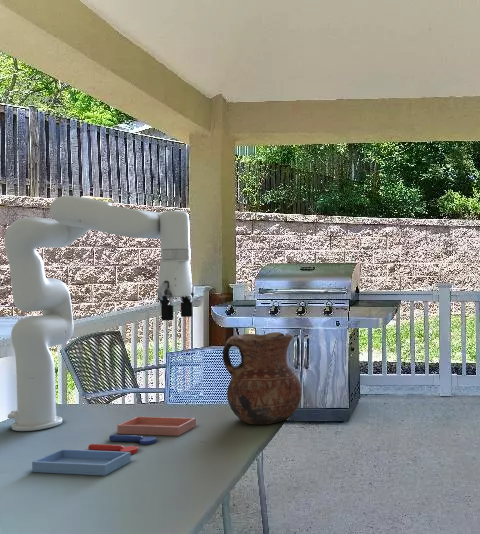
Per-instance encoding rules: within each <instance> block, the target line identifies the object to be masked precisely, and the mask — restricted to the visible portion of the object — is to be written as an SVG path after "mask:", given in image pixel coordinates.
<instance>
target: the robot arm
mask: <svg viewBox="0 0 480 534" xmlns="http://www.w3.org/2000/svg"><path fill="white" fill-rule="evenodd" d="M49 211H50V215H51V217H52V218H48V217H35V216H33V217H23V218H19V219H17V220H15V221H14V222H12V223H11V224H10V225H9V226H8V228H7V229H6V232H5V235H4V239H3V240H4V250H5V254H6V257H7V261H8V265H9V275H10V283H11V292H12V293H11V294H12V300H13V304H14V307H16V309H17V310H18V311H21V312H26V313H29V312H31V313H32V312H40V311H41V313H42V314H40V315H33V316H27V317H24V318H20V320H18V321H17V322H15V324H14V325H13V327H12V329H11V332H10V338H11V342H12V343H11V344H12V347H13V350H14V356H15V365H16V366H15V368H16V369H15V371H16V396H17V397H16V398H17V399H16V402H17V409H16V410H14V409H13V410H11V411H10V413H8V414H7V419H14V422H13V423H12V424H11V430H13V431H17V432H33V431H40V430H45V429H49V428H54V427H56V426H59V425H61V424H62V423H63V417H61V416H58V415H57V397H56V392H57V391H56V364H55V359H54V355H53V353H52V352H51V350H50V347H55V346H60V345H63V344H66V343H67V342H69V341H70V340H71V338H72V337H73V335H74V330H75V329H74V328H75V326H74V325H75V324H74V315H73V307H72V299H71V293H70V290H69V288H68V286H67V284H66V283H65V282H63V280H61V279H58V278H54V277H46V272H45V264H44V260H43V259H42V257H41V255H40V254H39V252H38V251H37V248H56V249H57V248H58V249H60V248H65V247H68V246H70V245H71V244H73V243H74V242H75V241H77V240H79V238H81V237H82V236H84V235H85V234H86V233H88V232H89V231H97V232H101V233H107V234H109V235H110V234H111V235H115V236H122V237H125V238H133V239H148V240H149V239H151V240H159V239H160V262H159V263H160V264H159V270H158V288H157V289H156V294H157V297H158V298H157V299H158V301H159V306H160V309H161V310H160V311H161V312H160V313H161V318H160V319H161V321H173V320H174V319H175V318H174V305H173V302H174V299H175V298H180V300H181V302H180V317H182V318H191V317H193V302H194V296H195V295H194V293H195V289H196V287H195V285H193V278H192V277H193V276H192V268H191V235H190V234H191V233H190V215H189V214H188V213H187V212H186V211H183V210H165V211H162V212H158V211H150V210H144V209H142V210H141V209H134V208H129V207H127V208H126V207H121V206H116V205H113V204H112V203H110V202H109V201H103V200H98V199H93V198H89V197H82V196H75V195H62V196H59V197H56V198H55V199H54V200H53V201H51V204H50V206H49Z"/></svg>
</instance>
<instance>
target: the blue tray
mask: <svg viewBox="0 0 480 534" xmlns="http://www.w3.org/2000/svg"><path fill="white" fill-rule="evenodd" d="M131 459H132V458H131V454H130V452H118V451H95V450H89V449H70V448H69V449H68V448H67V449H66V448H60V449H59V450H56V451H54V452H51V453H49V454H47V455H45V456H42V457H40V458H37V459H36V460H33V461H32V462H31V468H32V469H31V473H44V474H46V473H48V474H64V475H65V474H67V475H83V476H84V475H85V476H88V475H89V476H102V477H103V476H107V475H108V474H110V473H113V472H114V471H117V470H119V469H120V468H122V467H123V466H126V465H127V464H129V463H131V462H132V461H131Z"/></svg>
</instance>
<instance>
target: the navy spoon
mask: <svg viewBox="0 0 480 534" xmlns="http://www.w3.org/2000/svg"><path fill="white" fill-rule="evenodd" d="M108 440H109V441H110V442H123V443H125V442H126V443H139V444H140V445H145V446H147V445H153V444H155V443H157V442H158V441H157V437H156V436H144V437H143V436H142V435H134V434H110V435H109V437H108Z"/></svg>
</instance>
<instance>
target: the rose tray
mask: <svg viewBox="0 0 480 534" xmlns="http://www.w3.org/2000/svg"><path fill="white" fill-rule="evenodd" d="M116 427H117V428H116V431H117V435H144V436H145V435H147V436H149V435H150V436H176V437H178V436H180V435H183V434H184V433H186V432H188V431H190V430H192V429H194V428H195V427H197V419H196V418H195V417H171V416H169V417H166V416H135V417H133V418H131V419H129V420H126V421H124V422H121V423H120V424H117V425H116Z"/></svg>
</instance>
